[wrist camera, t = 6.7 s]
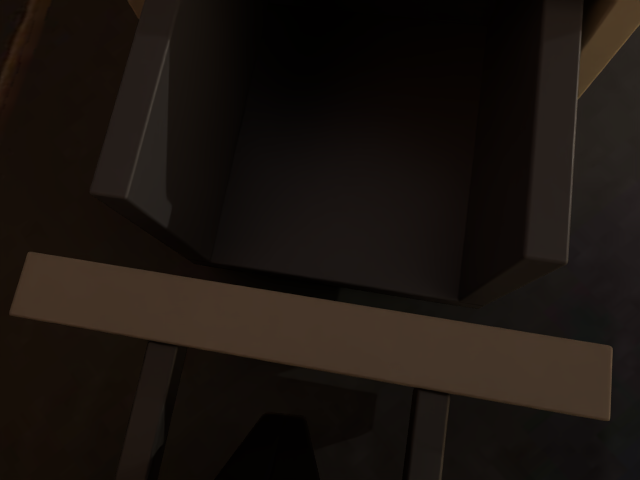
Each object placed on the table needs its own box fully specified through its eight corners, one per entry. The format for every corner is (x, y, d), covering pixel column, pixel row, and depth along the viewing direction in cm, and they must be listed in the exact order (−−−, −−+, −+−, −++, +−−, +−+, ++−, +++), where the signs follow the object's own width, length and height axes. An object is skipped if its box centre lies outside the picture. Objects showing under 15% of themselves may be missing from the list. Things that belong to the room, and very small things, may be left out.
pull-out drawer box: (476, 575, 14) (598, 777, 7) (118, 498, 15) (-85, 610, 8) (524, 31, 18) (633, -185, 11) (238, 1, 19) (170, -213, 12)
